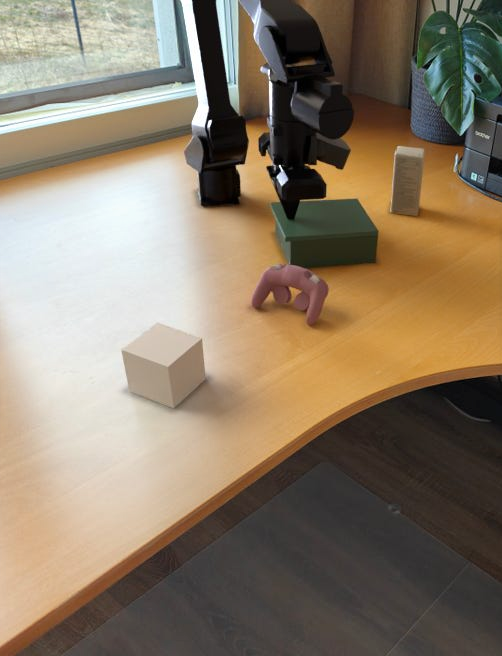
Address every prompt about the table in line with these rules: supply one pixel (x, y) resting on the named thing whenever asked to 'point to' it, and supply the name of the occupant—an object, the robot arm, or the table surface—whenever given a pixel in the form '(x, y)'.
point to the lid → (324, 220)
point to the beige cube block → (164, 364)
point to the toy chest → (329, 251)
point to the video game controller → (295, 277)
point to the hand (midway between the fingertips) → (290, 218)
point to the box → (407, 180)
